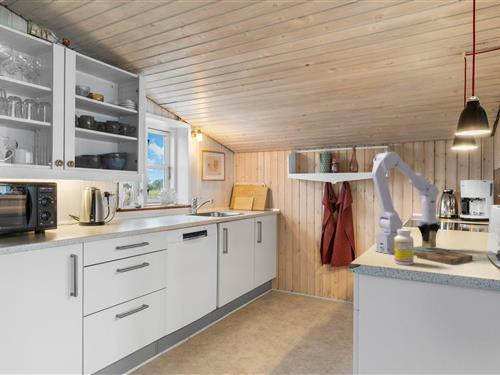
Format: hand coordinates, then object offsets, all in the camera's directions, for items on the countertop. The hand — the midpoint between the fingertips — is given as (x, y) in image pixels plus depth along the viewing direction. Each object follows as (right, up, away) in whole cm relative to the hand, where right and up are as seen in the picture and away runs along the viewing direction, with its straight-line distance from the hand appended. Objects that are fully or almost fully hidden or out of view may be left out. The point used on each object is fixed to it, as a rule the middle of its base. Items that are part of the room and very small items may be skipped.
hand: (428, 240), depth 159 cm
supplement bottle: (-23, -5, -26) cm, 34 cm away
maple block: (0, -3, 0) cm, 3 cm away
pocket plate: (-4, -4, -19) cm, 20 cm away
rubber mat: (0, -4, 0) cm, 4 cm away
